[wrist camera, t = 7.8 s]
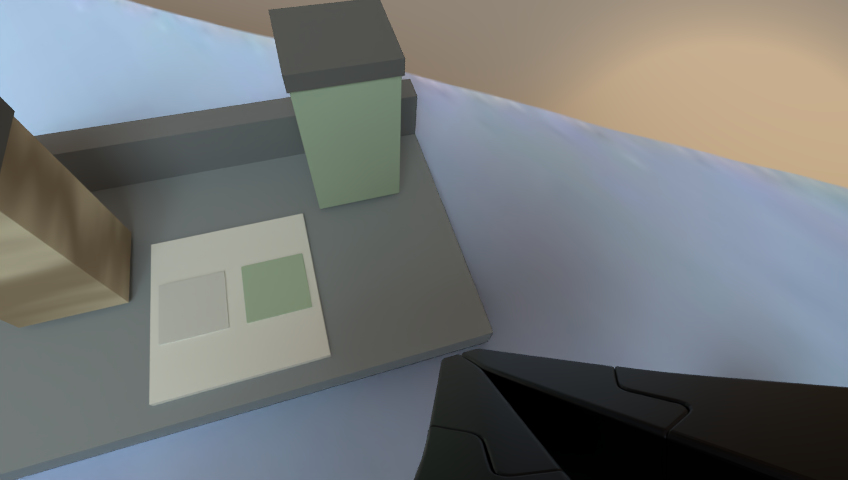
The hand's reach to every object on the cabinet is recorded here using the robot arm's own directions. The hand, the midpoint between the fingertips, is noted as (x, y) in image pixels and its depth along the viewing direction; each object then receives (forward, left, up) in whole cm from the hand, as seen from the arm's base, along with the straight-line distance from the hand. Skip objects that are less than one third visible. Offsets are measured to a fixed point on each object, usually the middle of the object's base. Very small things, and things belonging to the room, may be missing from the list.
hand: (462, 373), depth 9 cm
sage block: (+8, +12, -10) cm, 18 cm away
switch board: (0, +13, -12) cm, 18 cm away
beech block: (-5, +17, -10) cm, 21 cm away
